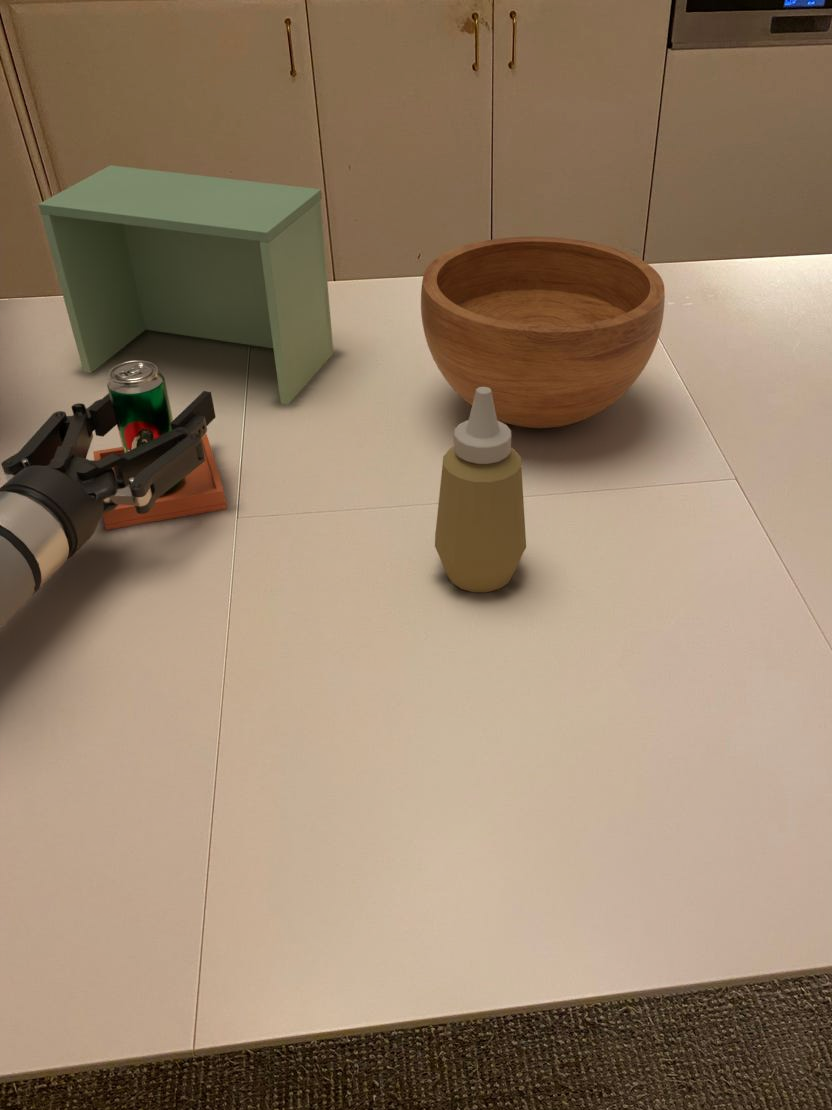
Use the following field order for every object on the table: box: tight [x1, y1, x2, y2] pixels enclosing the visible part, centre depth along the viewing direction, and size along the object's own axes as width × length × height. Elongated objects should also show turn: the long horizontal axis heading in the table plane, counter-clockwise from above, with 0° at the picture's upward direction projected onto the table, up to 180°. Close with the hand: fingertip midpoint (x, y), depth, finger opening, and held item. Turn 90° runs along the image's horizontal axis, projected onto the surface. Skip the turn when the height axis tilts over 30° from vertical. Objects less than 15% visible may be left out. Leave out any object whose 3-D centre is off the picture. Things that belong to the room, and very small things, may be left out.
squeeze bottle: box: [434, 387, 527, 593], centre depth 82 cm, size 8×8×18 cm
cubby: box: [37, 165, 335, 406], centre depth 112 cm, size 14×26×19 cm, turn 74°
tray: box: [92, 433, 228, 531], centre depth 97 cm, size 11×11×2 cm
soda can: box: [106, 360, 185, 494], centre depth 93 cm, size 5×5×12 cm
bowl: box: [420, 236, 666, 429], centre depth 105 cm, size 25×25×15 cm
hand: (170, 398), depth 96 cm, fingers open, 8 cm apart
